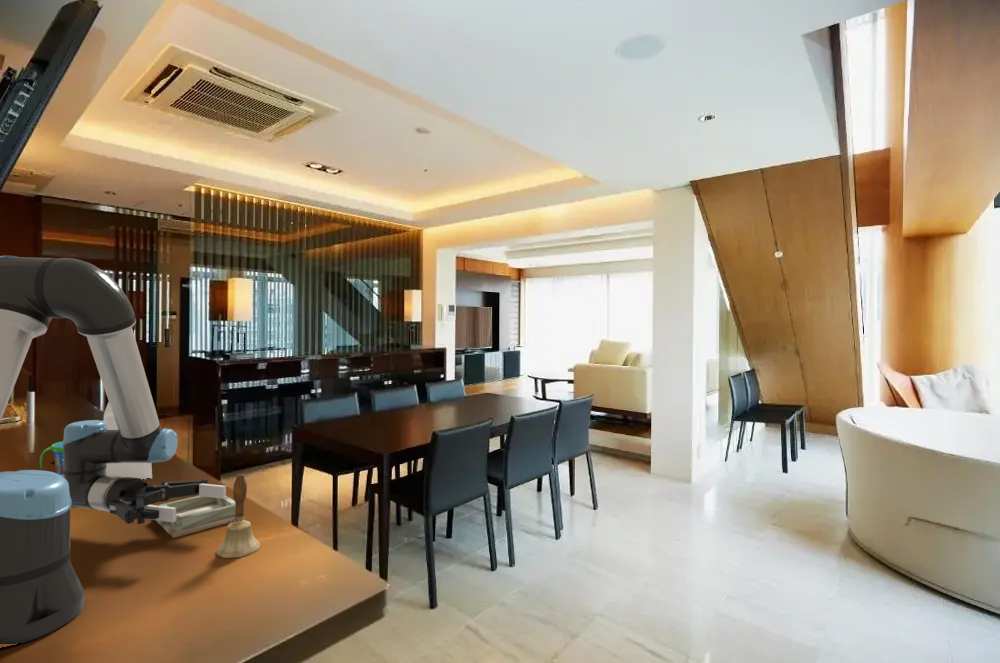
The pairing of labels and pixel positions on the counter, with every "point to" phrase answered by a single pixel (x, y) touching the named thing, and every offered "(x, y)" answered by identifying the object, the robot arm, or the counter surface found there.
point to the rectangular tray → (199, 514)
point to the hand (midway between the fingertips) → (201, 502)
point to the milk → (124, 468)
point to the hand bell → (238, 527)
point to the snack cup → (55, 457)
